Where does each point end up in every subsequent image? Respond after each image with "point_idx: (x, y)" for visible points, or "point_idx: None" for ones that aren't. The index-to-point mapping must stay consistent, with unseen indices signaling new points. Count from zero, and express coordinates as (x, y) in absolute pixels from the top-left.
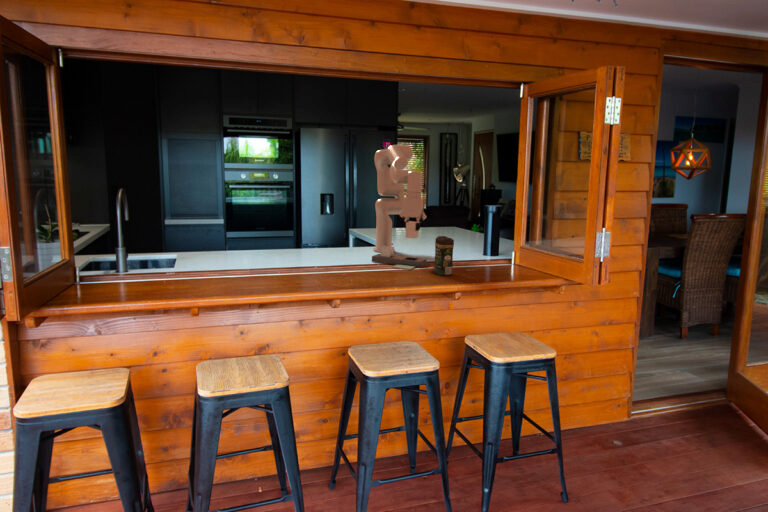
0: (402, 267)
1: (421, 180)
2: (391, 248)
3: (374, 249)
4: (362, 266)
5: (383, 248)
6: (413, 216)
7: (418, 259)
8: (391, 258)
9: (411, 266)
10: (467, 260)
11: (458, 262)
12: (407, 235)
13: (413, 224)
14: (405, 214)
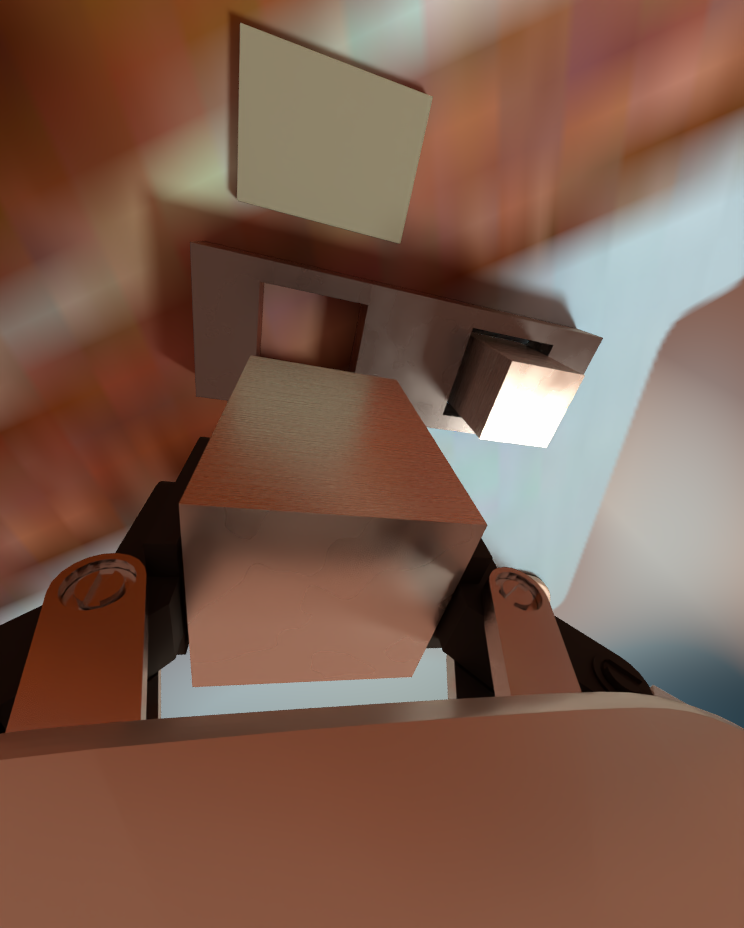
0: (334, 97)
1: None
2: (496, 391)
3: (545, 586)
4: (675, 82)
5: (561, 368)
6: (223, 770)
7: (248, 347)
8: (463, 305)
9: (270, 194)
10: (38, 590)
11: (48, 526)
12: (374, 385)
13: (262, 480)
14: (728, 812)
